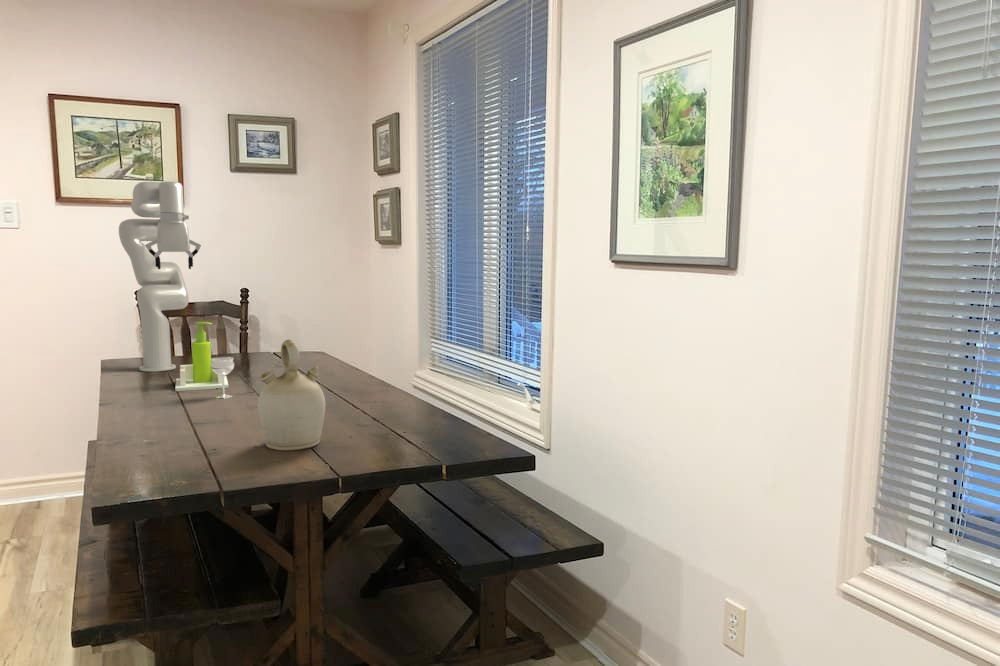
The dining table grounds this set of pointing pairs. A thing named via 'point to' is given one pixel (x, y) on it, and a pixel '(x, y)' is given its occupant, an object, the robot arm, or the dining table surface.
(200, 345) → the soap dispenser
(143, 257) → the robot arm
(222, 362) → the wineglass
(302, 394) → the jug
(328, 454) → the dining table surface
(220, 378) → the u rest
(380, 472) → the dining table surface
